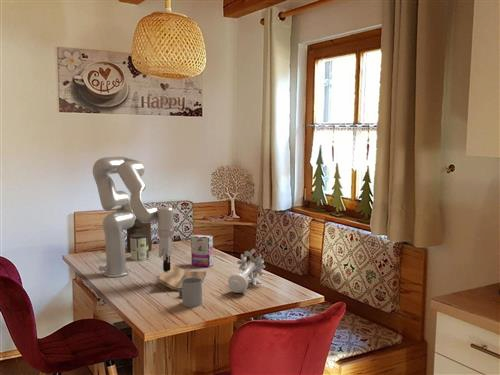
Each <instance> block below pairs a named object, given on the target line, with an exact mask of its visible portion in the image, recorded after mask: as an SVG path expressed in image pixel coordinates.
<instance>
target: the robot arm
mask: <svg viewBox="0 0 500 375" xmlns="http://www.w3.org/2000/svg"><path fill="white" fill-rule="evenodd" d="M112 174H113V175H114V174H118V176H119V177H120V179H121V180H122V182H123V184H124V185H125V187H126V188H127V191H128V192H129V194H130V196H129V194H128V193H127V192H126V191H124V190H117V188H116V186H115V182H114V180H113V179H112V177H111V176H110V175H112ZM144 174H145V167H144V165H143V163H142V162H140V161H139V160H136V159H133V158H128V157H125V156H107V157H106V156H104V157H101V158H99V159H97V160H96V161H95V162H94V163H93V166H92V176H93V179H94V181H95V184H96V188H97V192H98V196H99V200H100V205H101V207H102V209H103V210H104V211H106V212H111V211H115V212H112V213H109V214H107V215H106V216H104V218H103V220H102V227H103V232H104V238H105V240H104V241H105V256H106V258H105V259H106V263H105V264H106V265H104V266H103V265H99V266H98V270H99V271H100V272H101V271H104V272H103V276H104V277H106V276H107V277H106V278H120V277H124V276H127V275H129V274H130V271H129V269H127V268H126V267H127V265H126V264H127V263H126V262H127V261H126V240H125V237H124V234H123V232H122V231H125V230H127V229H129V228H131V227H132V226H133V225H134V222H135V220H136V217H137V219H138V220H139V221H140V222H142V223H149V222H151V223H152V222H157V237H159V240H158V257H159V258H162V265H163V266H162V268H163V269H162V270H163V272H164V271H170V269H171V267H170V263H171V255H172V254H173V237H174V236H175V233H174V232H175V231H174V230H175V229H174V228H175V226H174V225H175V224H174V208H172V207H171V206H161V205H159V204H158V205H157V204H156V205H151V206H150V205H149V206H145V204H144V202H143V201H142V197H141V194H142V193H143V192H144V191H145V190H146V186H147V185H146V183H145V182H144V179H142V177H143V175H144ZM116 210H117V212H116Z"/></svg>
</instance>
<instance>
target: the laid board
mask: <svg viewBox="0 0 500 375" xmlns="http://www.w3.org/2000/svg"><path fill="white" fill-rule="evenodd" d="M185 271H186V270H185ZM206 275H207V271H204V270H203V271H199V270H198V271H197V270H196V271H192V270H191V271H190V270H189V271H188V270H187V271H186V272H185V274H184V276H183V277H182V279H181V281H180V282H179V284H178V286H177V287H176V292H179V290H182V280H183V279H186V278H200V279H202V283H203V282H204V281H205V280H204V279H205V277H206Z"/></svg>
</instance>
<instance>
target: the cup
mask: <svg viewBox="0 0 500 375" xmlns="http://www.w3.org/2000/svg"><path fill="white" fill-rule="evenodd" d="M181 280H182V279H181ZM181 299H182V300H181V301H182V305H183V306H184V307H187V308H188V307H189V308H191V307H192V308H193V307H199V306H202V304H203V282H202V279H200V278H186V279H183V280H182V297H181Z"/></svg>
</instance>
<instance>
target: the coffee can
mask: <svg viewBox="0 0 500 375" xmlns="http://www.w3.org/2000/svg"><path fill="white" fill-rule="evenodd" d="M130 246H131V252H130V261H132V260H133V262H143V261H148V260H149V259H150V257H149V256H150V255H149V254H150V253H149V252H150V251H149V250H148V234H145V233H137V234H132V235H130ZM147 259H148V260H147Z"/></svg>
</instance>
